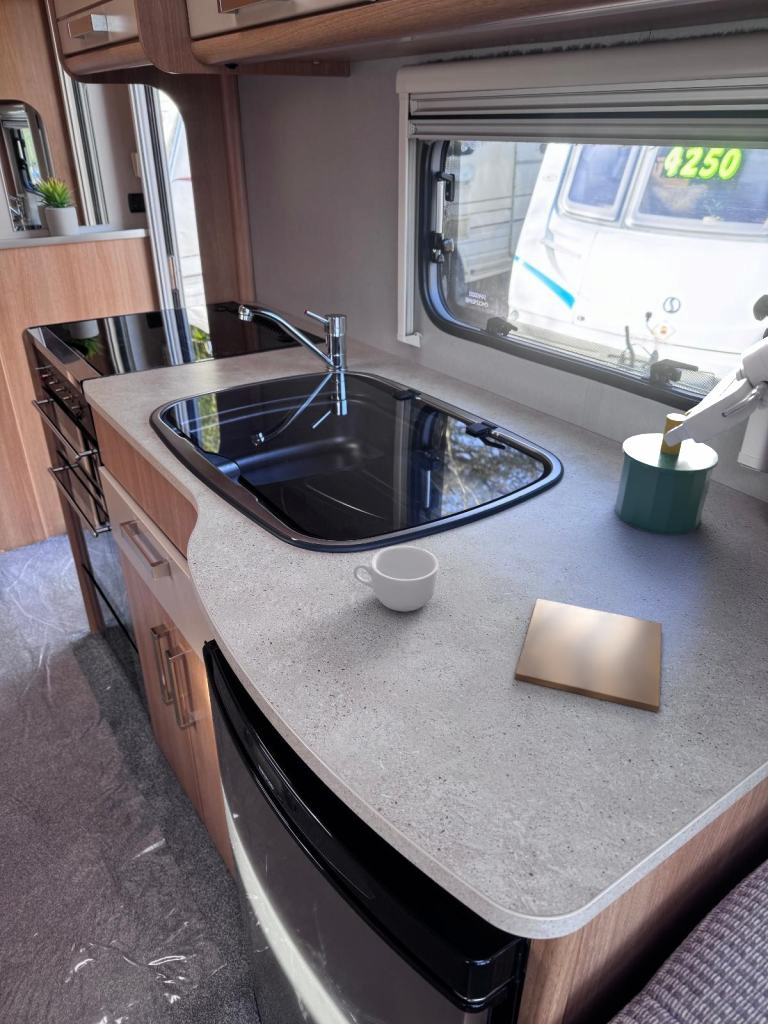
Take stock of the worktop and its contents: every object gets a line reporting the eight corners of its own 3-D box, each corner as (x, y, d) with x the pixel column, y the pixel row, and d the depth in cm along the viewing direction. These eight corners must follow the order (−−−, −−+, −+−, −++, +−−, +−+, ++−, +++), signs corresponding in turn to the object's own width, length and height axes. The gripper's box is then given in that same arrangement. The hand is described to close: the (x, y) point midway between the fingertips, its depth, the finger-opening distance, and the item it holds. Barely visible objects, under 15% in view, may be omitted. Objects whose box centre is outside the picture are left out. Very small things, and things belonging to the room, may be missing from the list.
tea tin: (697, 503, 108) (712, 445, 104) (700, 540, 99) (715, 478, 94) (617, 491, 112) (627, 434, 107) (612, 526, 102) (623, 465, 97)
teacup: (440, 586, 89) (442, 549, 86) (431, 624, 82) (433, 585, 79) (361, 576, 90) (361, 539, 88) (346, 613, 84) (345, 574, 81)
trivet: (660, 628, 82) (661, 622, 81) (658, 712, 70) (659, 706, 70) (536, 603, 86) (536, 597, 85) (514, 679, 74) (515, 673, 74)
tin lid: (714, 448, 104) (724, 407, 101) (719, 484, 94) (730, 440, 91) (623, 436, 108) (631, 396, 105) (618, 470, 97) (626, 427, 94)
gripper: (773, 420, 81) (668, 475, 91) (803, 374, 96) (709, 426, 106) (741, 374, 81) (639, 434, 91) (776, 335, 96) (685, 390, 106)
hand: (677, 429), depth 98 cm, fingers open, 8 cm apart
